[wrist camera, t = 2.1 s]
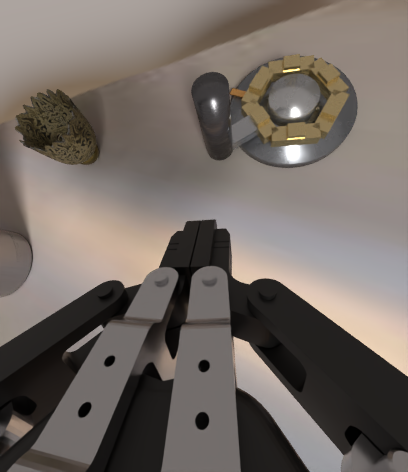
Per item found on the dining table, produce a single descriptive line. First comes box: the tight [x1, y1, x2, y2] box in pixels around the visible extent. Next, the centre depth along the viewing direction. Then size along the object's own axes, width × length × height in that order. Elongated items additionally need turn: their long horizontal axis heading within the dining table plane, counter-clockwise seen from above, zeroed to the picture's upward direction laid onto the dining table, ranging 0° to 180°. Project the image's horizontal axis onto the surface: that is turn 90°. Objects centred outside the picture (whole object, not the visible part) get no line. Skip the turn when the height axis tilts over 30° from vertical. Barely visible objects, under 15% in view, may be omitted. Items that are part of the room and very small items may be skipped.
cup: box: [15, 89, 99, 165], centre depth 28 cm, size 7×7×8 cm
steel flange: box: [230, 56, 357, 168], centre depth 27 cm, size 15×15×3 cm
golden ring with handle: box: [191, 54, 350, 160], centre depth 23 cm, size 17×12×9 cm
